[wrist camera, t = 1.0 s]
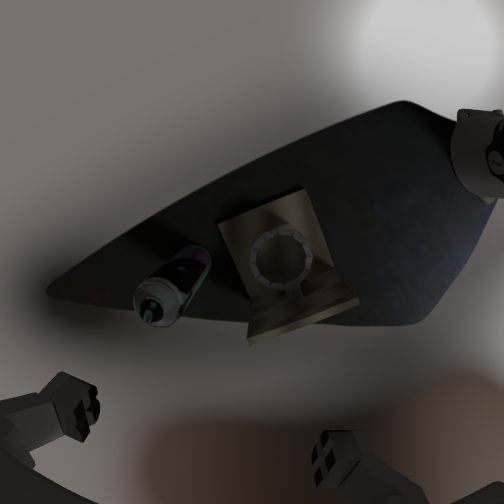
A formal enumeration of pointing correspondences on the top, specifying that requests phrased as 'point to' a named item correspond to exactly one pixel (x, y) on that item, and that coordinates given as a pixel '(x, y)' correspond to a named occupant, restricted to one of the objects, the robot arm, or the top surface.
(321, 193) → the top surface
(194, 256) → the spray can
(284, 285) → the ring
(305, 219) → the brown l-shaped piece
